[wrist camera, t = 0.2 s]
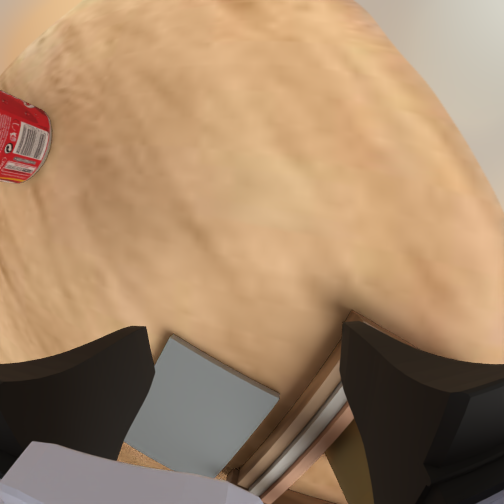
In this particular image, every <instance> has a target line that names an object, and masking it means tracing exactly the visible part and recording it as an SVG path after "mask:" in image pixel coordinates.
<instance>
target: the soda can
mask: <svg viewBox="0 0 504 504" xmlns="http://www.w3.org/2000/svg"><path fill="white" fill-rule="evenodd" d="M51 140H52V130H51V123H50V120H49V117H48V115H47V114H46V113H45V112H44V111H43V110H41V109H39V108H37V107H35V106H33V105H31V104H29V103H27V102H25V101H23V100H21V99H19V98H16V97H14V96H12V95H10V94H8V93H6V92H4V91H1V90H0V181H3V182H10V183H22V182H25V181H27V180H28V179H30V178H31V177H32V176H33V175H34V174H35V173H36V172H37V171H38V170H39V169H40V168H41V166H42V165H43V163H44V162H45V160H46V158H47V155H48V153H49V150H50V146H51Z"/></svg>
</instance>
